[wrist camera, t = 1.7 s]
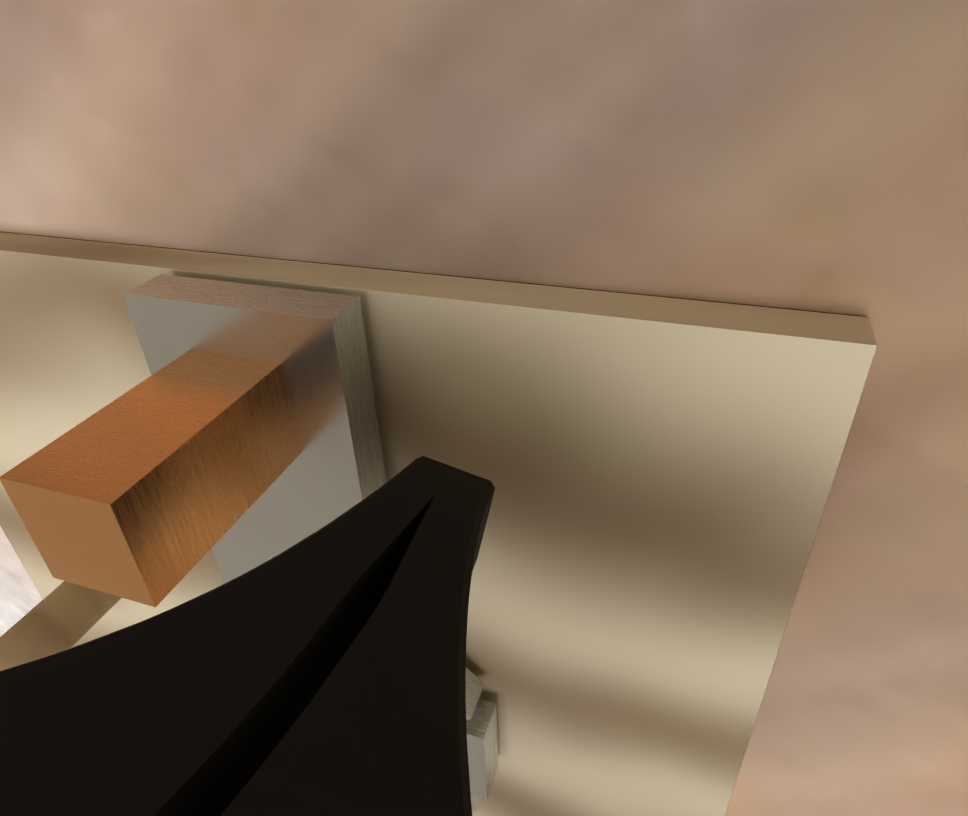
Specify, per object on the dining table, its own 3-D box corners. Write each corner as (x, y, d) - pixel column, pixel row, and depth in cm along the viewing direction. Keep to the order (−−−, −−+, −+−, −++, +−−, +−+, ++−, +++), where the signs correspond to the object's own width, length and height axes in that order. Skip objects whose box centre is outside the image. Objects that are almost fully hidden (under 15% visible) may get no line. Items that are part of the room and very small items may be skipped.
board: (696, 872, 21) (694, 908, 20) (118, 677, 27) (99, 698, 27) (867, 317, 10) (877, 345, 10) (-126, 219, 17) (-169, 231, 16)
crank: (500, 819, 20) (439, 1024, 16) (252, 734, 23) (148, 893, 19) (481, 310, 11) (331, 495, 7) (71, 264, 14) (-206, 382, 10)
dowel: (129, 604, 21) (21, 713, 18) (91, 593, 22) (-21, 697, 19) (113, 569, 21) (-4, 677, 17) (73, 558, 21) (-47, 662, 18)
